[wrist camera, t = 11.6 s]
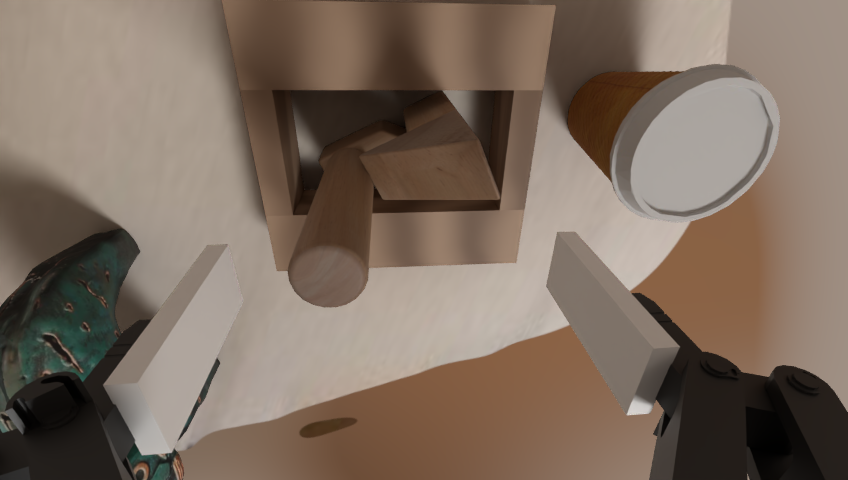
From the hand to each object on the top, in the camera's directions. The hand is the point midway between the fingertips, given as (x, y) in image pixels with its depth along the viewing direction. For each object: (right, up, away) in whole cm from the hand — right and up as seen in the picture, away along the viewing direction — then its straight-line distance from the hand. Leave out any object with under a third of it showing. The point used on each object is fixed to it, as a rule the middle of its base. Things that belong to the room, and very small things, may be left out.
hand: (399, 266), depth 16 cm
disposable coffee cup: (+16, +12, +17) cm, 26 cm away
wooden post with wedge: (-2, +10, +17) cm, 19 cm away
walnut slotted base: (-1, +10, +17) cm, 19 cm away
